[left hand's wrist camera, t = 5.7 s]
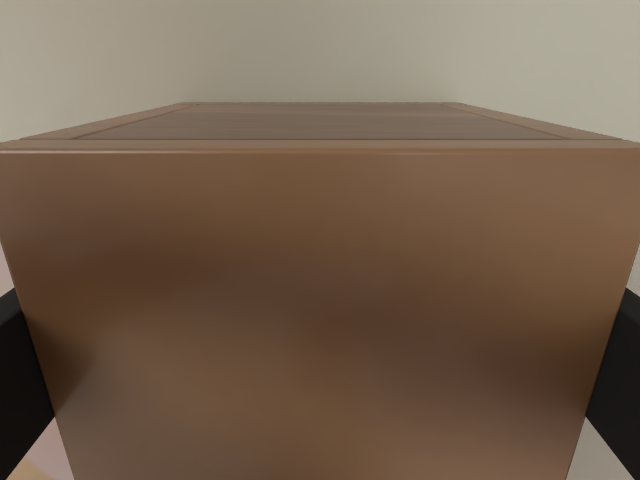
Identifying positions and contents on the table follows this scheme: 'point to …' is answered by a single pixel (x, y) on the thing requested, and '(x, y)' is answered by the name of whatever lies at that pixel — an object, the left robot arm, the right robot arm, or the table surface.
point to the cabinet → (320, 288)
